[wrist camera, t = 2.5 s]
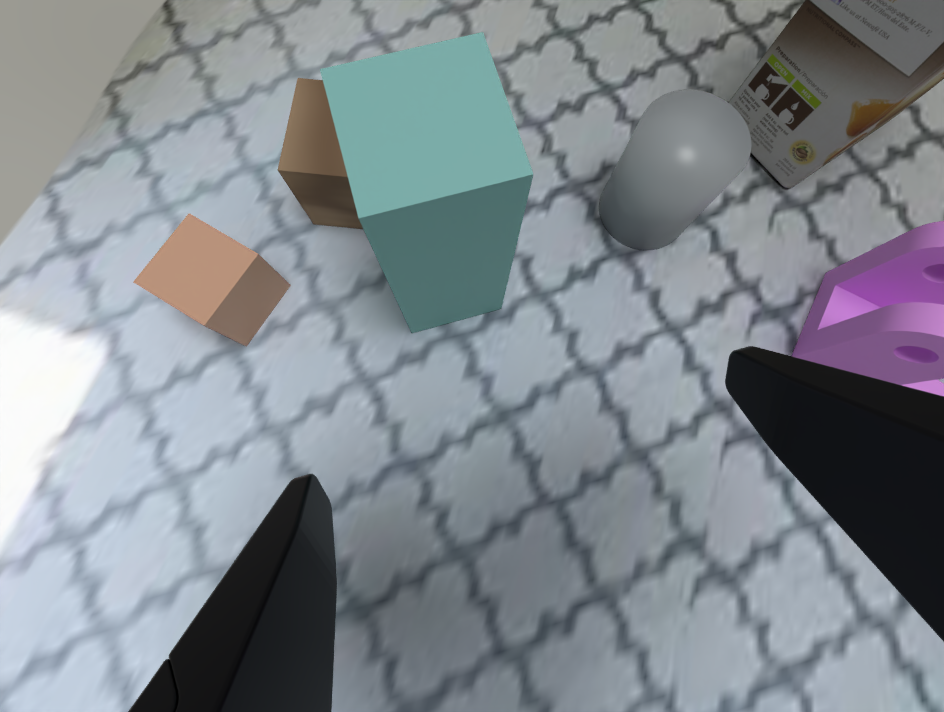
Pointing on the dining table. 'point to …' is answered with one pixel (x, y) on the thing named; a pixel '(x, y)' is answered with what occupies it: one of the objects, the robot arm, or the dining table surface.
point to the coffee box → (838, 79)
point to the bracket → (884, 313)
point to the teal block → (434, 174)
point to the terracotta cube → (214, 280)
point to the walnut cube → (316, 159)
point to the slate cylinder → (673, 168)
